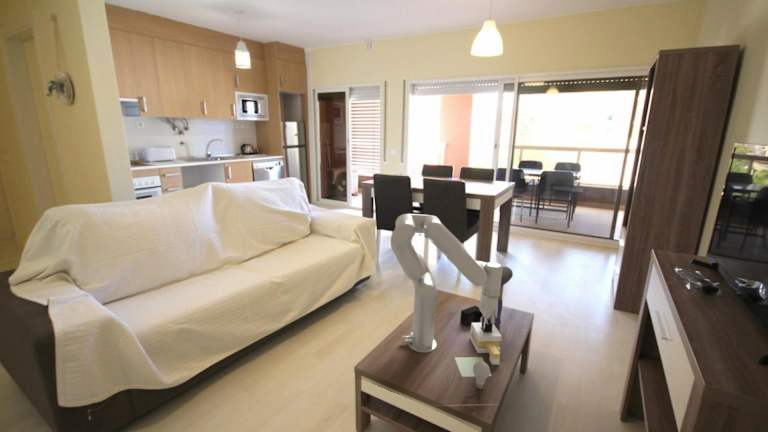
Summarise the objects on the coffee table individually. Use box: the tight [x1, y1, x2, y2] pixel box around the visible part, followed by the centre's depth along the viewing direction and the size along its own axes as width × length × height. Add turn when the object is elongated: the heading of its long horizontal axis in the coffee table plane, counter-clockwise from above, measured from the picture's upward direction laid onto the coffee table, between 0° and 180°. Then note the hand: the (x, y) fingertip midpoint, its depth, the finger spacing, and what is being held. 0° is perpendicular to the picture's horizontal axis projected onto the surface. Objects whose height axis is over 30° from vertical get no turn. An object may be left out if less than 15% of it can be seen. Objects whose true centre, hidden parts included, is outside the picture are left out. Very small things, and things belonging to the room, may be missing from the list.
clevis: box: [469, 322, 503, 366], centre depth 154 cm, size 10×19×8 cm, turn 3°
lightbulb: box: [473, 361, 491, 390], centre depth 132 cm, size 6×6×11 cm
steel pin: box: [483, 317, 491, 333], centre depth 156 cm, size 4×4×14 cm
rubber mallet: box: [493, 266, 514, 327], centre depth 173 cm, size 12×8×30 cm, turn 141°
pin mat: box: [454, 356, 492, 378], centre depth 145 cm, size 12×12×1 cm
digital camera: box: [459, 305, 483, 327], centre depth 178 cm, size 10×5×7 cm, turn 124°
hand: (486, 328), depth 157 cm, fingers closed on steel pin, 3 cm apart
